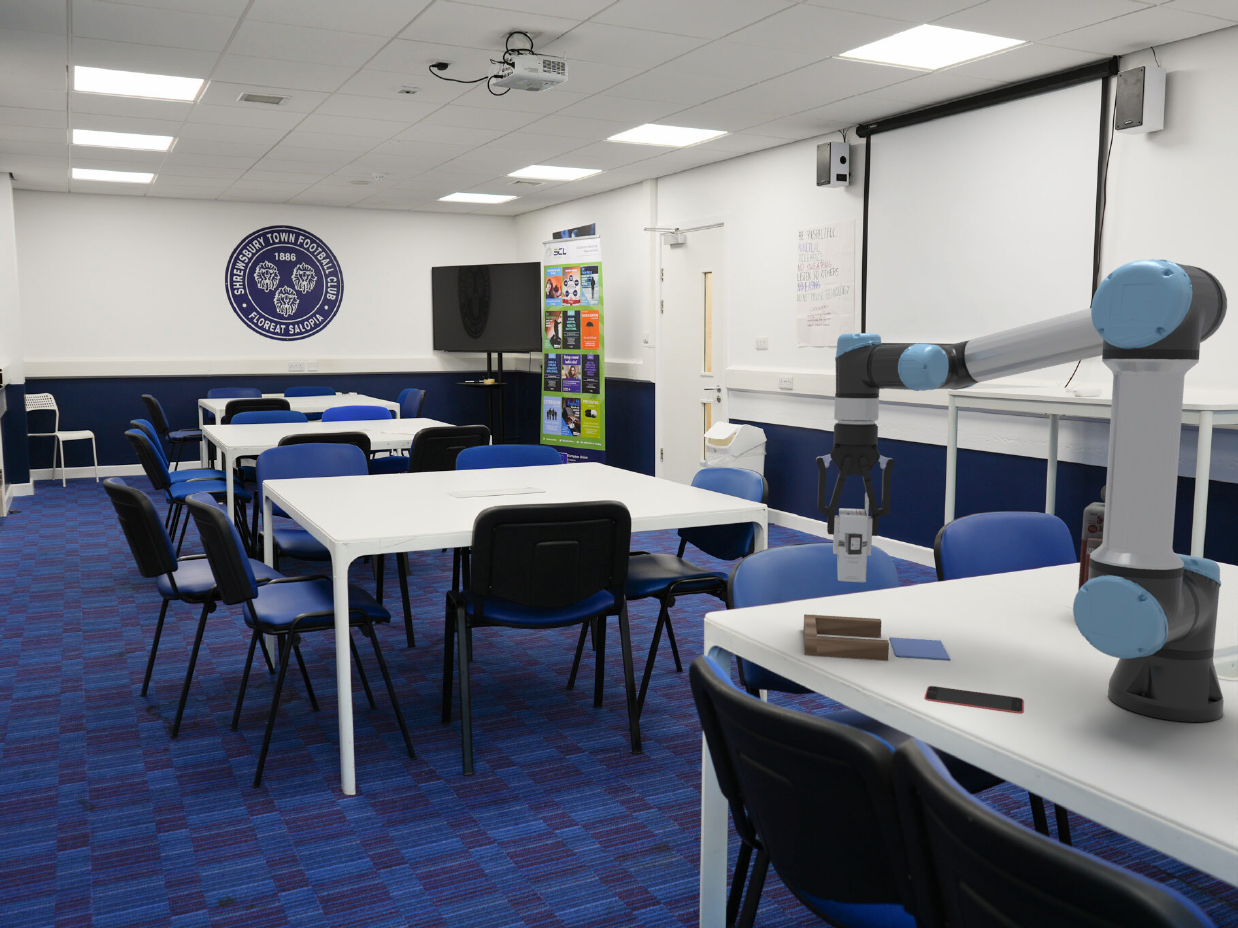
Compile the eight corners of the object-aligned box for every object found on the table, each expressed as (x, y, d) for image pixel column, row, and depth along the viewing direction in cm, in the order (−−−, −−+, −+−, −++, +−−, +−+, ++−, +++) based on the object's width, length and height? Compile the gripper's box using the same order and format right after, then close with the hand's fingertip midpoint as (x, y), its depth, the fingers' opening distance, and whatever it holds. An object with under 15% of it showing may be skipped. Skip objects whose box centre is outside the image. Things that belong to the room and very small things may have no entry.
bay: (888, 660, 167) (889, 643, 166) (804, 654, 169) (805, 638, 169) (879, 634, 182) (880, 618, 182) (803, 629, 185) (804, 614, 184)
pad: (950, 660, 167) (950, 658, 167) (895, 656, 169) (895, 654, 169) (940, 641, 178) (940, 640, 178) (889, 638, 179) (889, 637, 179)
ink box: (836, 571, 178) (839, 491, 177) (864, 572, 177) (866, 492, 176) (837, 581, 170) (839, 497, 169) (866, 582, 169) (869, 498, 168)
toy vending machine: (1073, 627, 189) (1083, 484, 186) (1083, 615, 199) (1092, 478, 195) (1124, 635, 184) (1136, 488, 181) (1132, 622, 194) (1142, 482, 190)
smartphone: (927, 684, 154) (1024, 697, 149) (927, 688, 154) (1023, 701, 149) (923, 698, 147) (1023, 712, 142) (923, 702, 148) (1023, 716, 142)
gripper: (906, 422, 173) (901, 551, 176) (803, 420, 176) (799, 547, 179) (912, 424, 166) (906, 559, 168) (803, 422, 169) (800, 555, 171)
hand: (851, 553), depth 173 cm, fingers closed on ink box, 5 cm apart
